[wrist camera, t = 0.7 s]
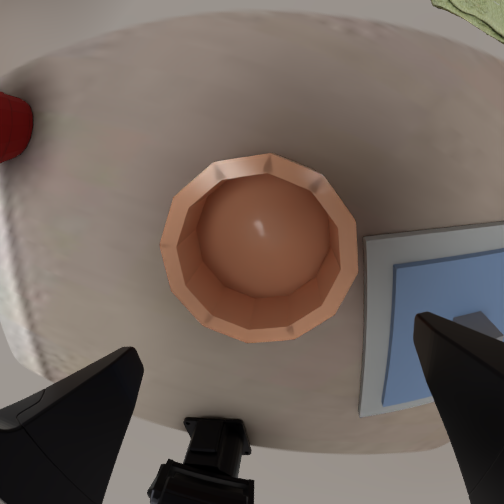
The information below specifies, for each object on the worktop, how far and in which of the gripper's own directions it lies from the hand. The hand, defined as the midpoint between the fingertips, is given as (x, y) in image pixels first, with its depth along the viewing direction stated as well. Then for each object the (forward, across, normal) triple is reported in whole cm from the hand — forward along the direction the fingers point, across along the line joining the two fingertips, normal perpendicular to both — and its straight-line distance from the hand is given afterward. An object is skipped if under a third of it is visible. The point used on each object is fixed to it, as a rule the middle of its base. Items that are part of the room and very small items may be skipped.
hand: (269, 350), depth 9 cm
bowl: (+13, +1, 0) cm, 13 cm away
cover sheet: (+12, -14, +10) cm, 22 cm away
